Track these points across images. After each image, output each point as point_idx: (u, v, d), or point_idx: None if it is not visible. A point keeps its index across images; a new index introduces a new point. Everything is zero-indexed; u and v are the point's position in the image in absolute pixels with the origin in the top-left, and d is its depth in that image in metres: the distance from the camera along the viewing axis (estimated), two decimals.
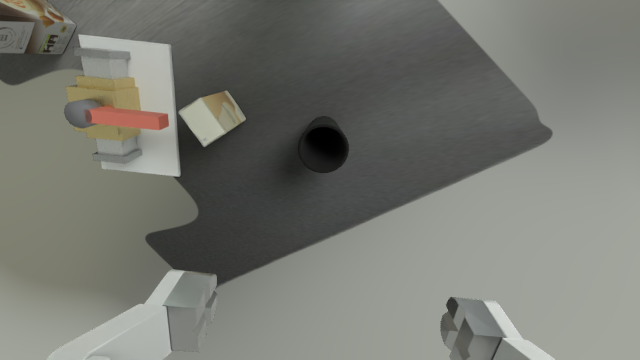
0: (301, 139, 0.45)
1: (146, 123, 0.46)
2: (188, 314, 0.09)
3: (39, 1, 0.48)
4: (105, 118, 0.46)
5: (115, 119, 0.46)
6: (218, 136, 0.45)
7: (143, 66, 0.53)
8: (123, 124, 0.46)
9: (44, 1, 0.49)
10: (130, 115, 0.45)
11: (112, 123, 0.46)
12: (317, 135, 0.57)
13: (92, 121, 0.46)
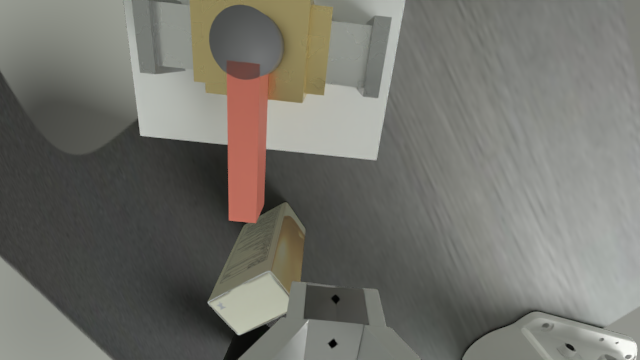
0: None
1: (240, 198, 0.22)
2: (327, 327, 0.09)
3: None
4: (242, 113, 0.19)
5: (241, 136, 0.20)
6: (230, 325, 0.25)
7: (343, 110, 0.29)
8: (232, 151, 0.20)
9: None
10: (254, 170, 0.21)
11: (231, 126, 0.20)
12: None
13: (231, 75, 0.19)
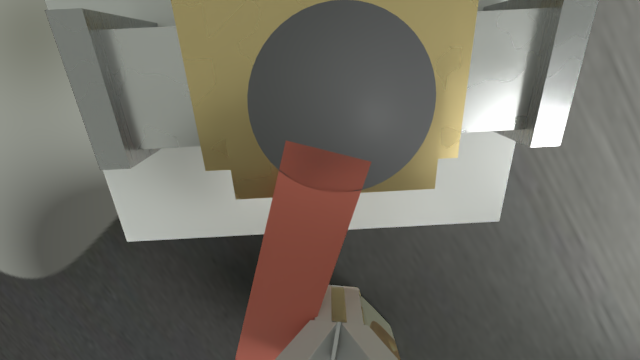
0: None
1: None
2: None
3: None
4: (296, 259, 0.08)
5: (281, 302, 0.09)
6: None
7: None
8: (254, 326, 0.09)
9: None
10: None
11: (264, 281, 0.08)
12: None
13: (289, 176, 0.07)
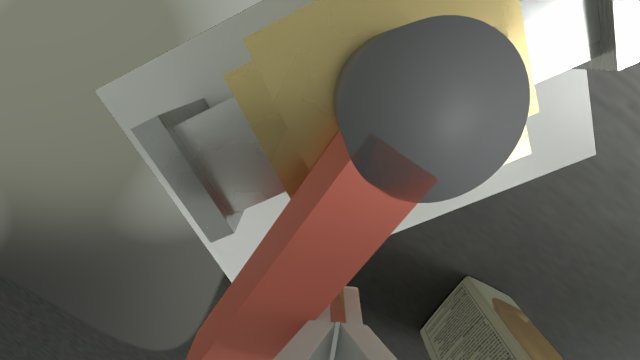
0: None
1: None
2: None
3: None
4: (327, 251, 0.08)
5: (294, 289, 0.08)
6: None
7: None
8: (255, 306, 0.08)
9: None
10: None
11: (285, 264, 0.08)
12: None
13: (356, 168, 0.07)
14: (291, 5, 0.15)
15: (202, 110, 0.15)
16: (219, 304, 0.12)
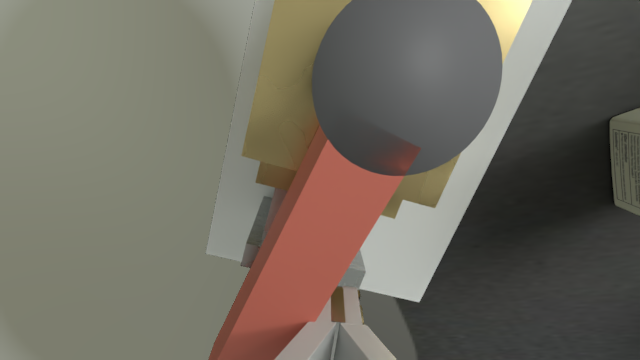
0: None
1: None
2: None
3: None
4: (320, 237, 0.08)
5: (294, 282, 0.08)
6: None
7: None
8: (258, 304, 0.08)
9: None
10: None
11: (281, 256, 0.08)
12: None
13: (335, 148, 0.07)
14: (253, 83, 0.16)
15: (270, 206, 0.17)
16: (230, 311, 0.12)
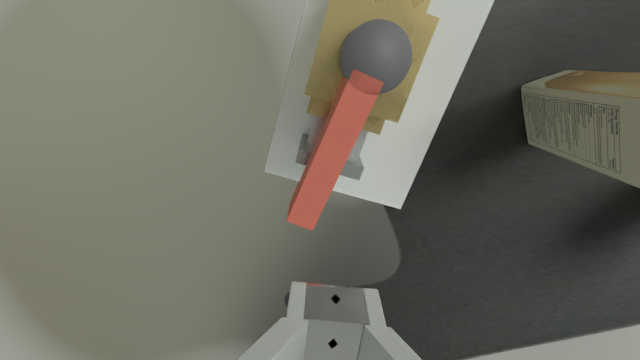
0: None
1: (307, 203, 0.21)
2: (327, 327, 0.09)
3: None
4: (346, 123, 0.19)
5: (335, 144, 0.19)
6: None
7: None
8: (320, 156, 0.20)
9: None
10: (333, 180, 0.20)
11: (330, 132, 0.19)
12: None
13: (351, 84, 0.18)
14: (299, 61, 0.27)
15: (307, 137, 0.29)
16: (300, 179, 0.23)
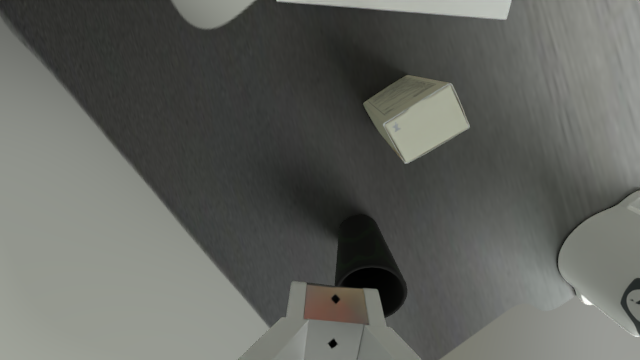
0: (386, 268, 0.31)
1: None
2: (327, 327, 0.09)
3: None
4: None
5: None
6: (400, 151, 0.26)
7: None
8: None
9: None
10: None
11: None
12: None
13: None
14: None
15: None
16: None
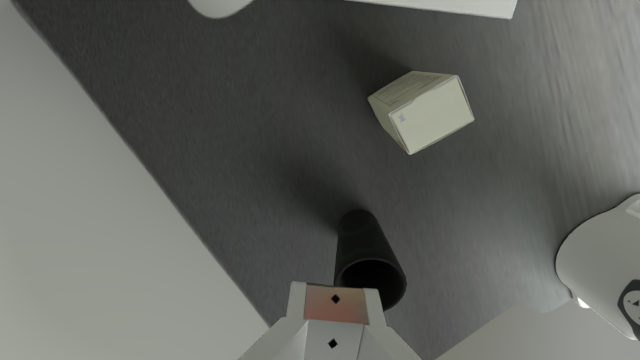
0: (387, 261, 0.31)
1: None
2: (327, 327, 0.09)
3: None
4: None
5: None
6: (404, 142, 0.26)
7: None
8: None
9: None
10: None
11: None
12: None
13: None
14: None
15: None
16: None
